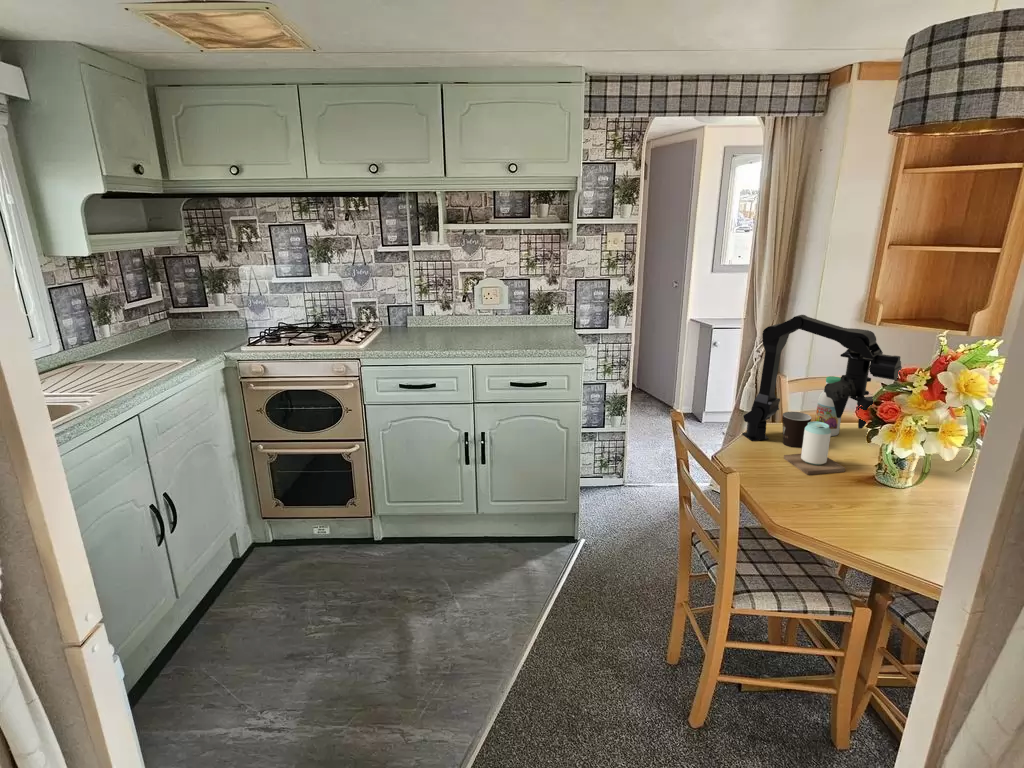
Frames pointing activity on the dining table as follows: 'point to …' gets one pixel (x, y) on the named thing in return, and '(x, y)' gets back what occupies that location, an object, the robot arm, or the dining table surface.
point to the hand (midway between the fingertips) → (849, 422)
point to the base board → (814, 469)
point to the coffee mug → (794, 428)
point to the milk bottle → (828, 409)
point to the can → (816, 443)
